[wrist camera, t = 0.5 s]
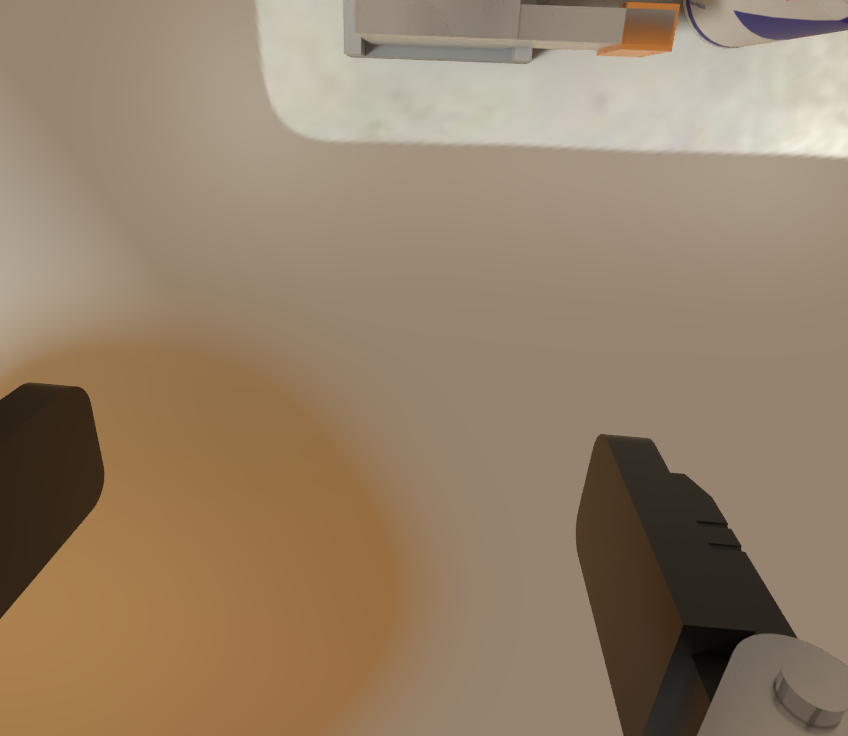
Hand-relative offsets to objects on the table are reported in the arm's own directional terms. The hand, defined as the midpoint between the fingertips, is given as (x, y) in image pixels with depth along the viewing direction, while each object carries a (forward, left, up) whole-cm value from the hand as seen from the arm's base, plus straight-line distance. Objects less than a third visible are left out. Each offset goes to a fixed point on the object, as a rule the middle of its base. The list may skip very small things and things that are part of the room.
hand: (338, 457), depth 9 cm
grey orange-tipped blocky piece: (-9, 0, -25) cm, 26 cm away
